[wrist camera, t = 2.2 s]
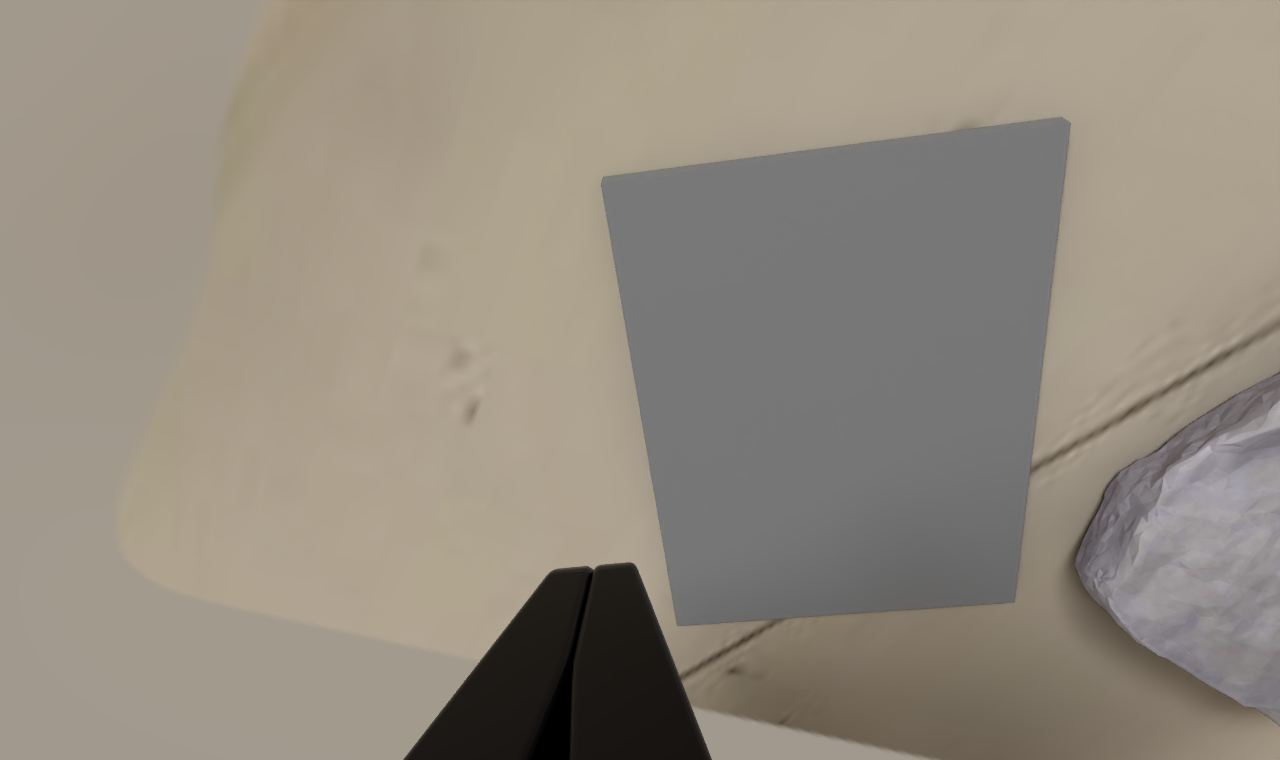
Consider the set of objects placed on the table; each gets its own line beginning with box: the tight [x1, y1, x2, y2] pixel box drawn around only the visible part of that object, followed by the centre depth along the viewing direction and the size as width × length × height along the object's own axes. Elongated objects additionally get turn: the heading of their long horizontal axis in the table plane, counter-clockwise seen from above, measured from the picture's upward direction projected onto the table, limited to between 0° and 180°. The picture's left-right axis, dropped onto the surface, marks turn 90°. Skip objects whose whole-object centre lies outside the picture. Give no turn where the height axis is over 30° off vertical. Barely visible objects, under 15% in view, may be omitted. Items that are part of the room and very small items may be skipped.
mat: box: [601, 117, 1071, 626], centre depth 22 cm, size 10×14×1 cm
